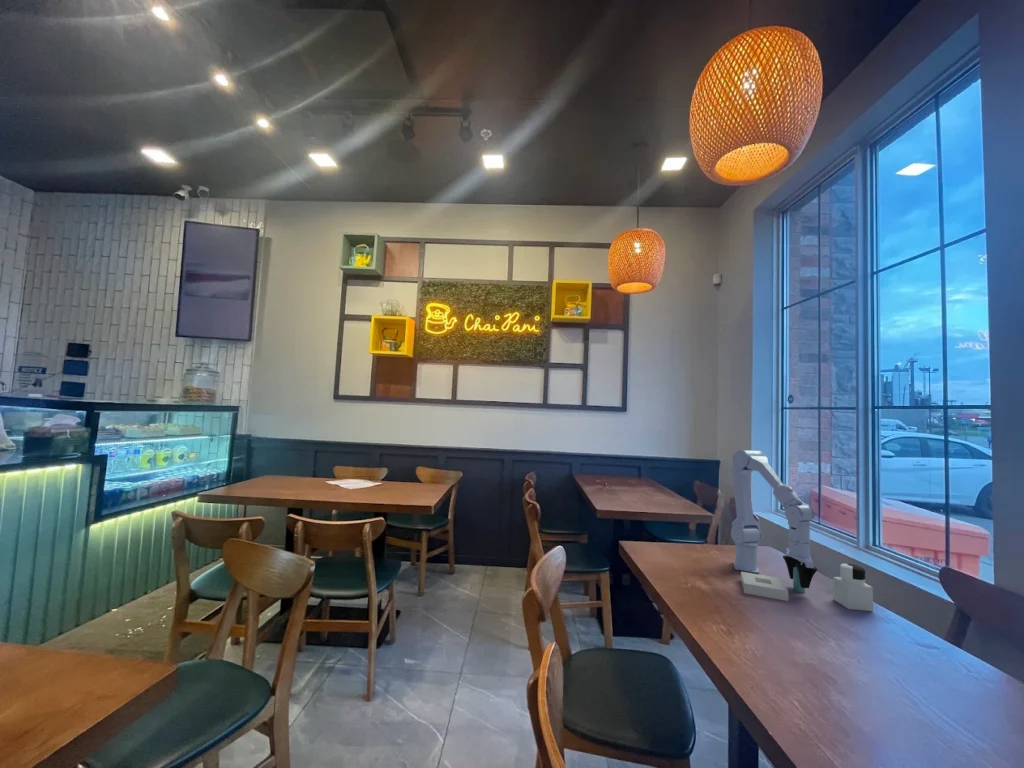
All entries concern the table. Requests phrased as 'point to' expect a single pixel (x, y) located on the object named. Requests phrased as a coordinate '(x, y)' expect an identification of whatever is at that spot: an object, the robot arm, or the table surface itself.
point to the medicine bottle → (852, 588)
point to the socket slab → (764, 586)
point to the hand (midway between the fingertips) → (799, 583)
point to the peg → (797, 582)
